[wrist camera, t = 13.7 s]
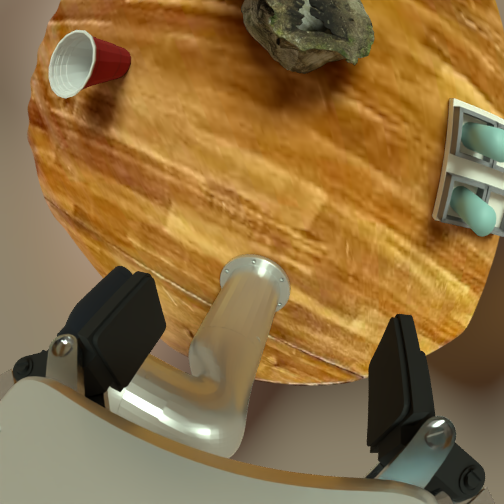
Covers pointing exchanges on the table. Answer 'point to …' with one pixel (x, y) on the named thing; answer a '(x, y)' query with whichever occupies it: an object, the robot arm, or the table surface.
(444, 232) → the table surface
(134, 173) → the table surface
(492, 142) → the teal peg
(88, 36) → the plastic cup
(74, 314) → the black water bottle
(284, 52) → the hollow geode rock
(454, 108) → the pin board
